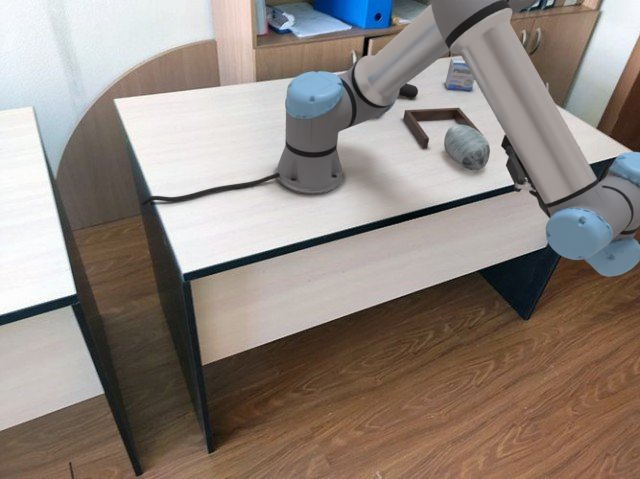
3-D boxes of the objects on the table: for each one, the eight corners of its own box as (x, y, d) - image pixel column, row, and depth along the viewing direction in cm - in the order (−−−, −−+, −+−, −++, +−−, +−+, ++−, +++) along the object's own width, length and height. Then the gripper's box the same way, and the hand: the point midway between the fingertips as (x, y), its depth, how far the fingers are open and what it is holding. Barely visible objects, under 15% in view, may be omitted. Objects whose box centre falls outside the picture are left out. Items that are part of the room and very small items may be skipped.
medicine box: (446, 89, 161) (453, 62, 155) (444, 83, 164) (451, 57, 158) (471, 91, 161) (479, 64, 155) (469, 85, 164) (476, 58, 158)
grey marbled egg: (503, 162, 123) (491, 127, 118) (468, 182, 123) (455, 148, 118) (476, 146, 135) (464, 113, 130) (444, 164, 135) (431, 132, 130)
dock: (422, 148, 132) (425, 138, 130) (403, 119, 144) (404, 110, 142) (480, 145, 135) (483, 135, 134) (456, 117, 147) (459, 107, 145)
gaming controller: (394, 84, 167) (371, 69, 162) (405, 69, 164) (382, 53, 159) (409, 107, 155) (385, 92, 150) (422, 92, 152) (397, 76, 147)
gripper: (529, 225, 93) (473, 157, 111) (591, 219, 96) (527, 153, 113) (543, 192, 88) (482, 126, 106) (607, 186, 91) (538, 122, 108)
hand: (505, 140), depth 109 cm, fingers closed
